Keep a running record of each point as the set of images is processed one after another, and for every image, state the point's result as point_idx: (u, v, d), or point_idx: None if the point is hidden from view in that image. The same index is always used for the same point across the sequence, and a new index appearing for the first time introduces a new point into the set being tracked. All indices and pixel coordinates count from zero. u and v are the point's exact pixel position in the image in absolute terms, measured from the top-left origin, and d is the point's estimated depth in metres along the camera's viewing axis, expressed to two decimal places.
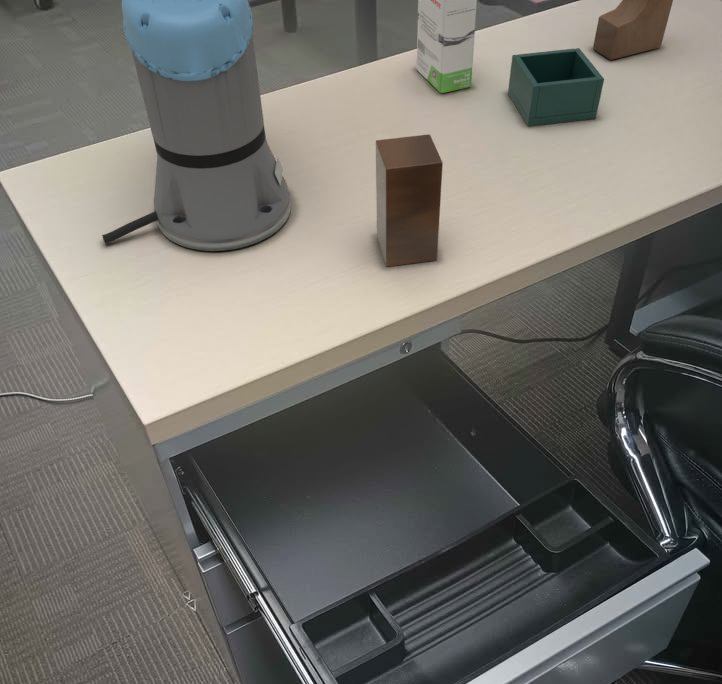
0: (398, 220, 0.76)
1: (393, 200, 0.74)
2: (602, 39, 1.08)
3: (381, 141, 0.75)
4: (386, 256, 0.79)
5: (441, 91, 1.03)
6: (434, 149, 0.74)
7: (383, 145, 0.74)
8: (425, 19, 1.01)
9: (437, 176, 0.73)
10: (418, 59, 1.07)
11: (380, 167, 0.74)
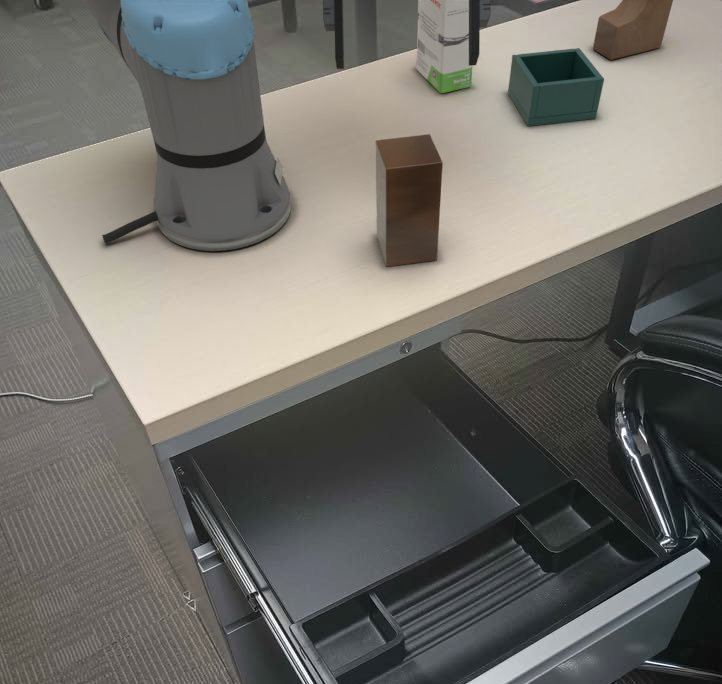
0: (398, 220, 0.76)
1: (393, 200, 0.74)
2: (602, 39, 1.08)
3: (381, 141, 0.75)
4: (386, 256, 0.79)
5: (441, 91, 1.03)
6: (434, 149, 0.74)
7: (383, 145, 0.74)
8: (425, 19, 1.01)
9: (437, 176, 0.73)
10: (418, 59, 1.07)
11: (380, 167, 0.74)
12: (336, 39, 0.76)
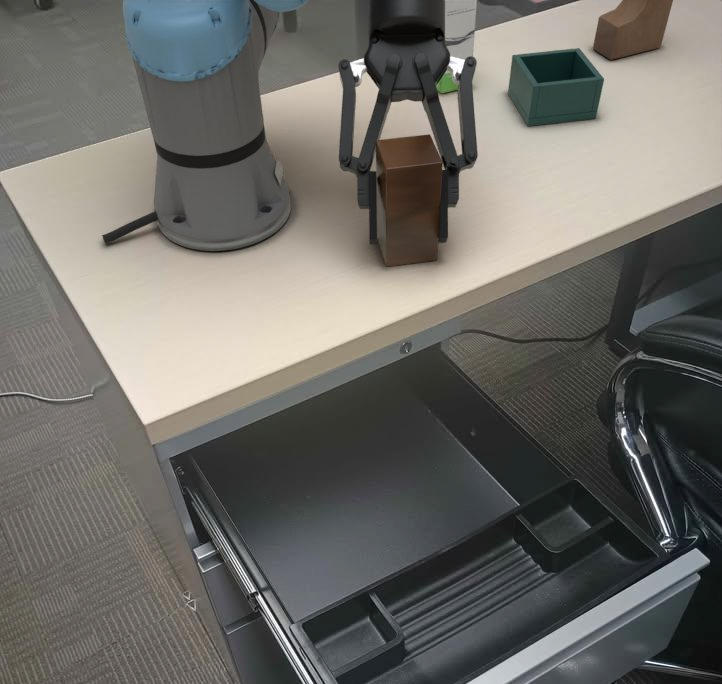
0: (398, 220, 0.76)
1: (393, 200, 0.74)
2: (602, 39, 1.08)
3: (381, 141, 0.75)
4: (386, 256, 0.79)
5: (441, 91, 1.03)
6: (434, 149, 0.74)
7: (383, 145, 0.74)
8: None
9: (437, 176, 0.73)
10: None
11: (380, 167, 0.74)
12: (370, 221, 0.76)
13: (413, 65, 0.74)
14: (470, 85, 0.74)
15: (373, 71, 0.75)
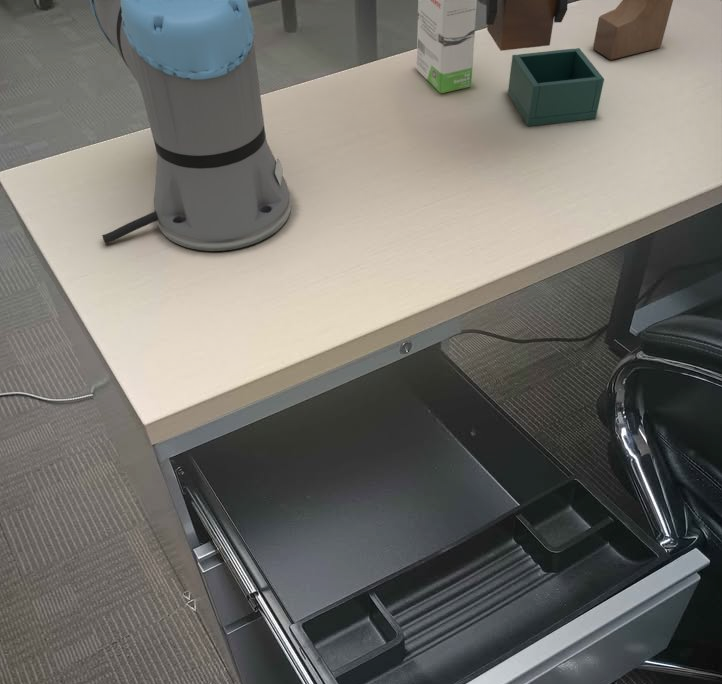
0: None
1: None
2: (602, 39, 1.08)
3: None
4: (501, 38, 0.81)
5: (441, 91, 1.03)
6: None
7: None
8: (425, 19, 1.01)
9: None
10: (418, 59, 1.07)
11: None
12: None
13: None
14: None
15: None
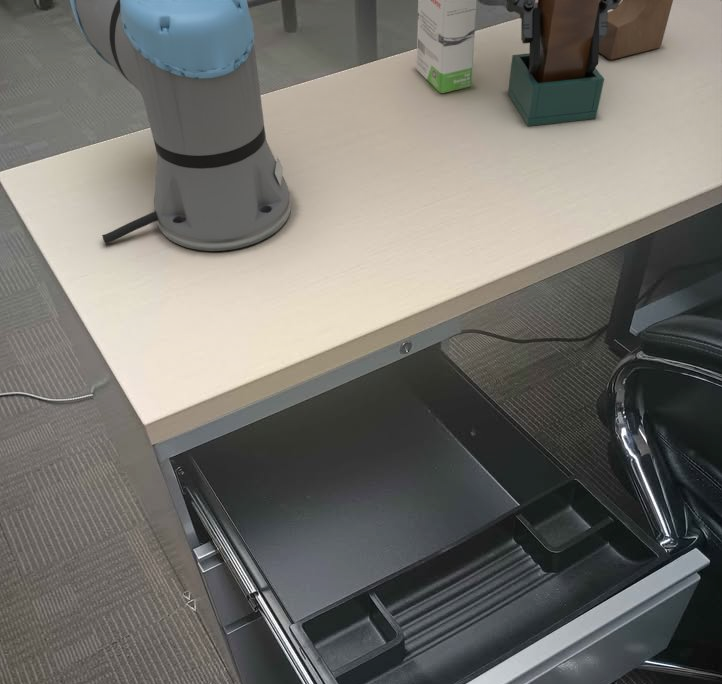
0: (557, 50, 0.93)
1: (556, 30, 0.91)
2: None
3: None
4: None
5: (441, 91, 1.03)
6: None
7: None
8: (425, 19, 1.01)
9: (594, 8, 0.89)
10: (418, 59, 1.07)
11: (545, 3, 0.91)
12: (535, 50, 0.92)
13: None
14: None
15: None
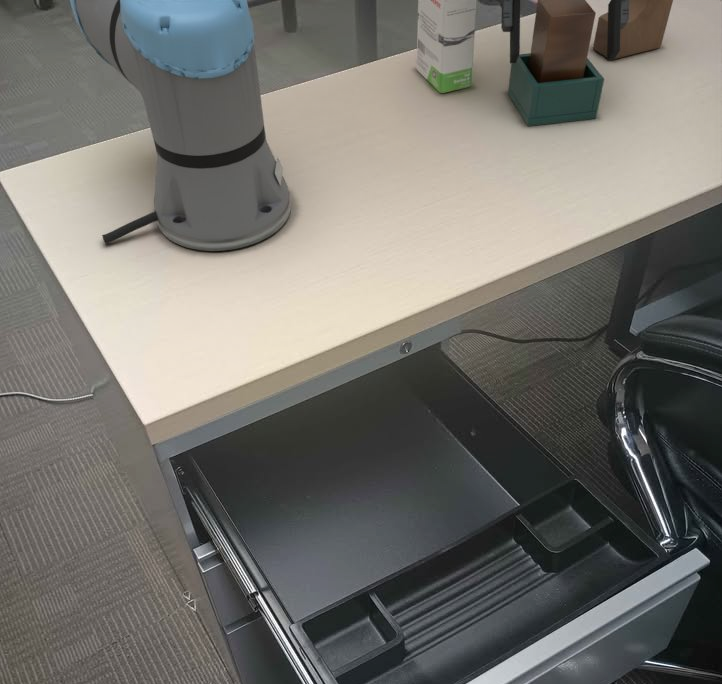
0: (553, 66, 0.94)
1: (551, 46, 0.92)
2: (602, 39, 1.08)
3: None
4: None
5: (441, 91, 1.03)
6: (587, 4, 0.91)
7: (544, 2, 0.92)
8: (425, 19, 1.01)
9: (589, 25, 0.91)
10: (418, 59, 1.07)
11: (541, 20, 0.92)
12: (514, 38, 0.92)
13: None
14: None
15: None
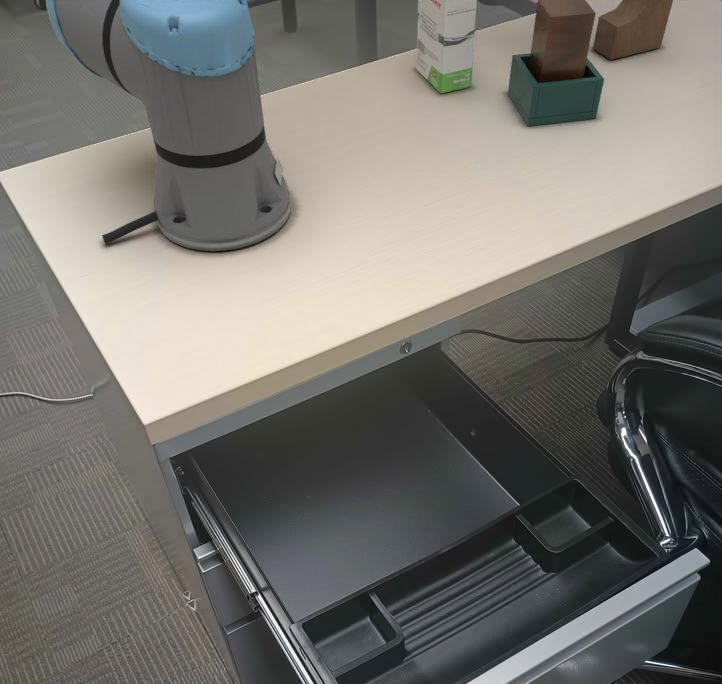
0: (553, 66, 0.94)
1: (551, 46, 0.92)
2: (602, 39, 1.08)
3: None
4: None
5: (441, 91, 1.03)
6: (587, 4, 0.91)
7: (544, 2, 0.92)
8: (425, 19, 1.01)
9: (589, 25, 0.91)
10: (418, 59, 1.07)
11: (541, 20, 0.92)
12: None
13: None
14: None
15: None
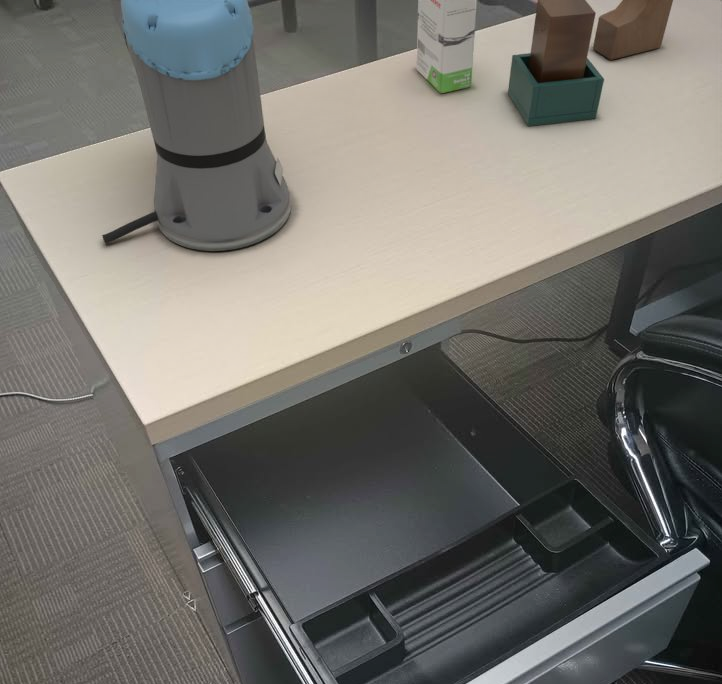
0: (553, 66, 0.94)
1: (551, 46, 0.92)
2: (602, 39, 1.08)
3: None
4: None
5: (441, 91, 1.03)
6: (587, 4, 0.91)
7: (544, 2, 0.92)
8: (425, 19, 1.01)
9: (589, 25, 0.91)
10: (418, 59, 1.07)
11: (541, 20, 0.92)
12: None
13: None
14: None
15: None
